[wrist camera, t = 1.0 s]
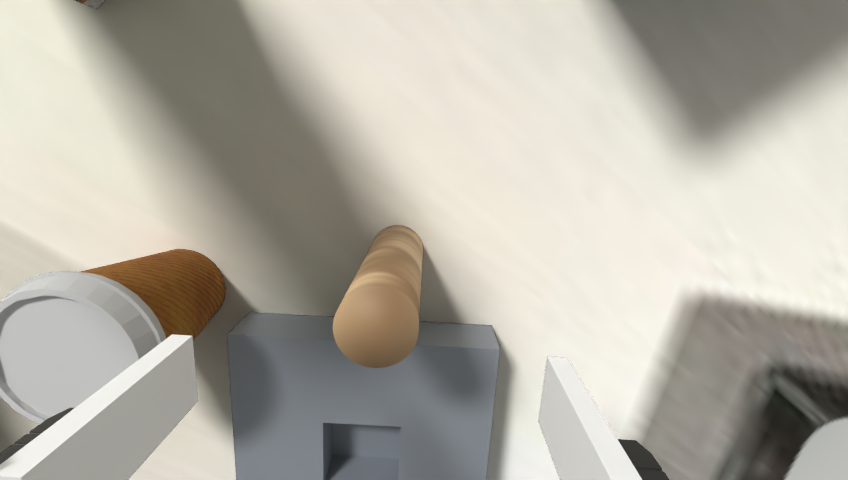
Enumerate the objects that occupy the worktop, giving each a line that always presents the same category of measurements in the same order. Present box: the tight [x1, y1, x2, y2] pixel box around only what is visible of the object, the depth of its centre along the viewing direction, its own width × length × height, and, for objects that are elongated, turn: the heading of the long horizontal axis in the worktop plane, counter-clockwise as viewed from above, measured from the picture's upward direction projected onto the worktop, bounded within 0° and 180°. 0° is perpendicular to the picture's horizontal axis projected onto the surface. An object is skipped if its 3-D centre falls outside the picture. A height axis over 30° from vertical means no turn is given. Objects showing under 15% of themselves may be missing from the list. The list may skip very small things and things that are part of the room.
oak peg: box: [333, 225, 423, 368], centre depth 26 cm, size 4×4×14 cm
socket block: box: [227, 313, 500, 480], centre depth 35 cm, size 20×20×4 cm
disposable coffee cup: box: [0, 249, 225, 424], centre depth 28 cm, size 10×10×12 cm
